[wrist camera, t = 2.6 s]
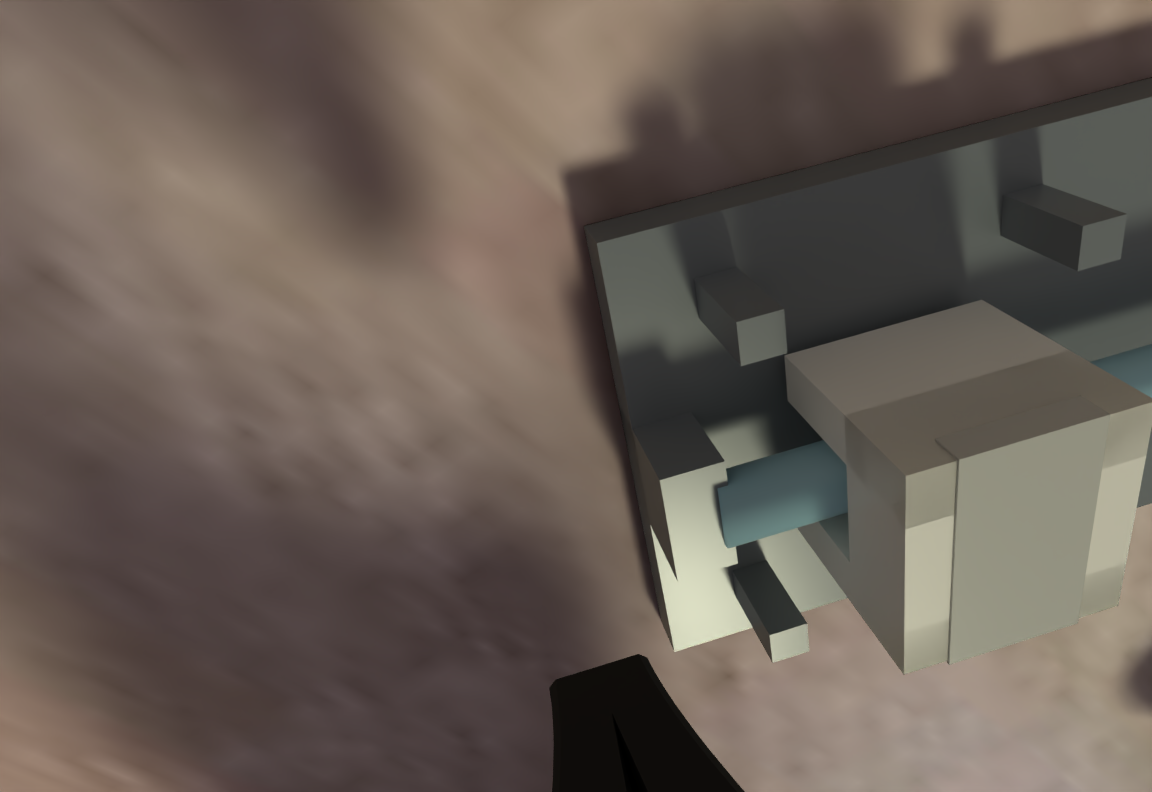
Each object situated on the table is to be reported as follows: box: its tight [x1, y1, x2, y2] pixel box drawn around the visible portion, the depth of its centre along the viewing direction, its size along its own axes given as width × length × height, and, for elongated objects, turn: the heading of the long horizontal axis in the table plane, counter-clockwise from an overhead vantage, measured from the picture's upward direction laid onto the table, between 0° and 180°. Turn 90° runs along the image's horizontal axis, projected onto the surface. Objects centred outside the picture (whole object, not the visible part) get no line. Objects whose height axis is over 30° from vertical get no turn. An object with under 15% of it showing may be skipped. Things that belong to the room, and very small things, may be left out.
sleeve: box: [784, 300, 1152, 675], centre depth 15 cm, size 4×4×4 cm
